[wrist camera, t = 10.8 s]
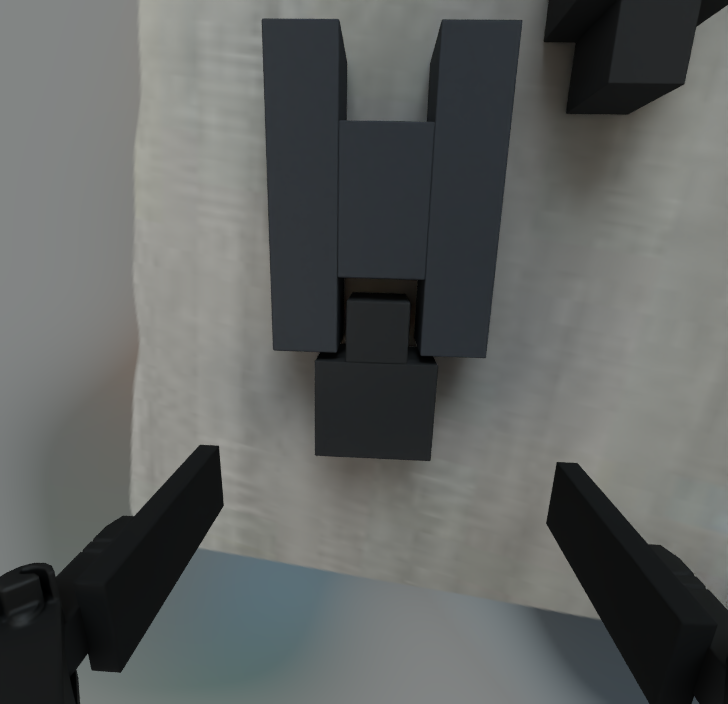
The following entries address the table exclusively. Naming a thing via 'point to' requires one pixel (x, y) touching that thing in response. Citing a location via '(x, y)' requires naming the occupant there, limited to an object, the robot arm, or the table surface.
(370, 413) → the dark stepped block
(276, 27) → the base tile
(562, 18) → the dark grey t-shaped block
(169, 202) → the table surface
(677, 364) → the table surface
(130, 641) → the robot arm
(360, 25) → the table surface
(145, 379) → the table surface
